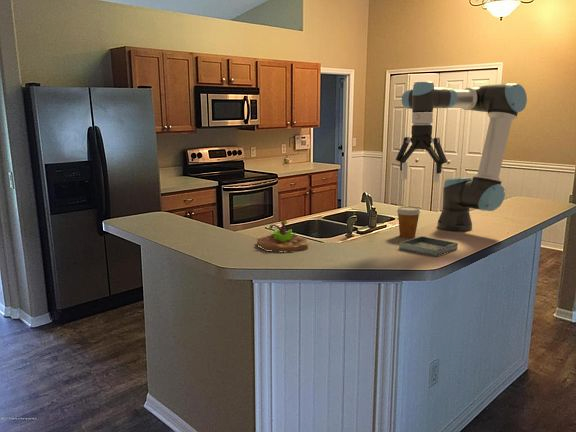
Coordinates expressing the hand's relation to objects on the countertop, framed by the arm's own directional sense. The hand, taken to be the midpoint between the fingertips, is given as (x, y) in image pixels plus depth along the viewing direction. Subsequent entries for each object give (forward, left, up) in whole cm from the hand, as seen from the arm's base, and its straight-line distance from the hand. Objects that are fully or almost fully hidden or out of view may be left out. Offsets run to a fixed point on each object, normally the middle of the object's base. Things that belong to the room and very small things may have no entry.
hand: (419, 180), depth 185 cm
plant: (+39, -35, -26) cm, 59 cm away
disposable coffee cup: (-9, -10, -26) cm, 29 cm away
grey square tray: (+3, +7, -25) cm, 26 cm away
